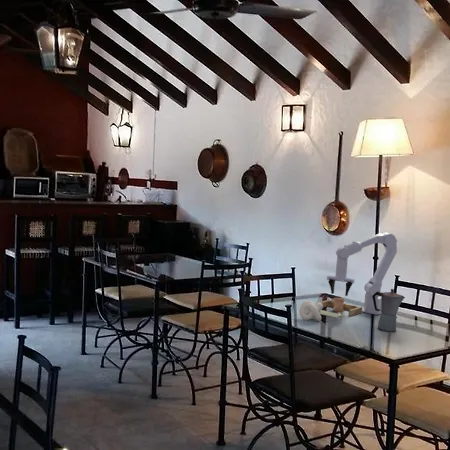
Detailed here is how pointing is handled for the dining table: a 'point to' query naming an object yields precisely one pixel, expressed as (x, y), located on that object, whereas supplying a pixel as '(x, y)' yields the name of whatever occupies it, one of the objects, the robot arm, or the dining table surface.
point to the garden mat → (330, 314)
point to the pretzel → (310, 310)
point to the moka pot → (388, 309)
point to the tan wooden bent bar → (344, 307)
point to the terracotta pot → (338, 304)
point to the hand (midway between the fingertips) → (339, 294)
